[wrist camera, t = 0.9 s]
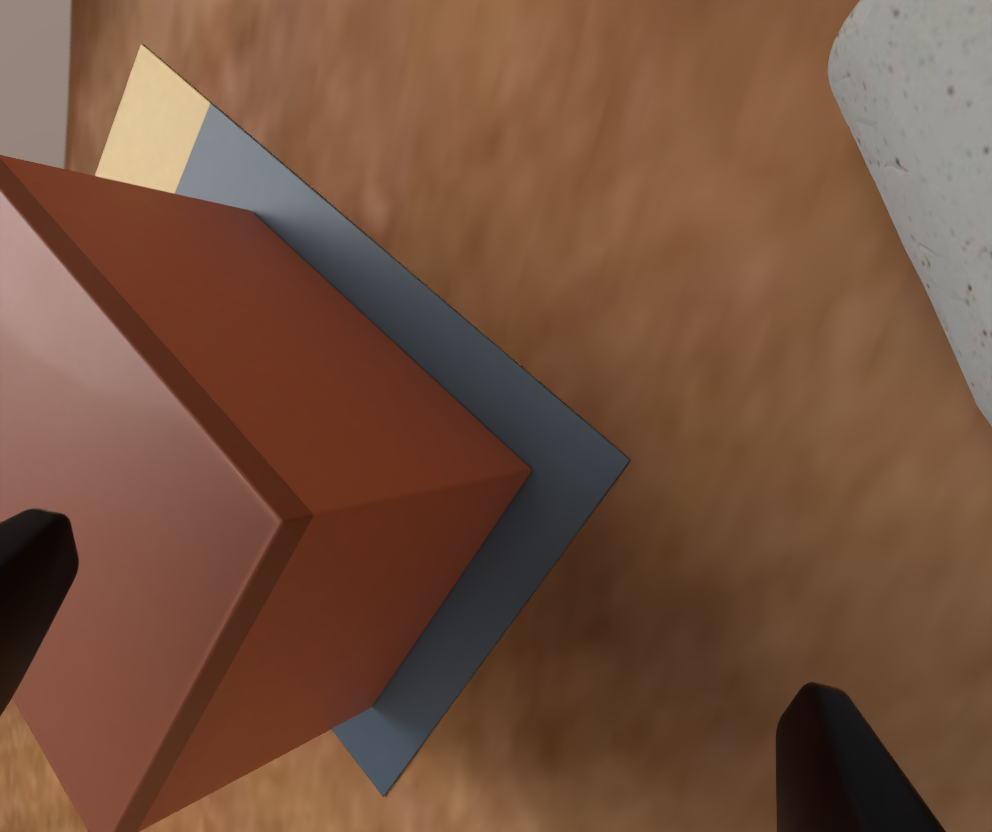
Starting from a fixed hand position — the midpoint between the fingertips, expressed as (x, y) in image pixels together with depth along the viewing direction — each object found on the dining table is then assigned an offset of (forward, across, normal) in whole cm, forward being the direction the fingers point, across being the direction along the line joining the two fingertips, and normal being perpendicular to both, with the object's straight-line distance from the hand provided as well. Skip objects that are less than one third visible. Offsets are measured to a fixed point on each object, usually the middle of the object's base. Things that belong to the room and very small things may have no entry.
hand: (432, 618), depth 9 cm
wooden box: (+13, +6, +10) cm, 17 cm away
